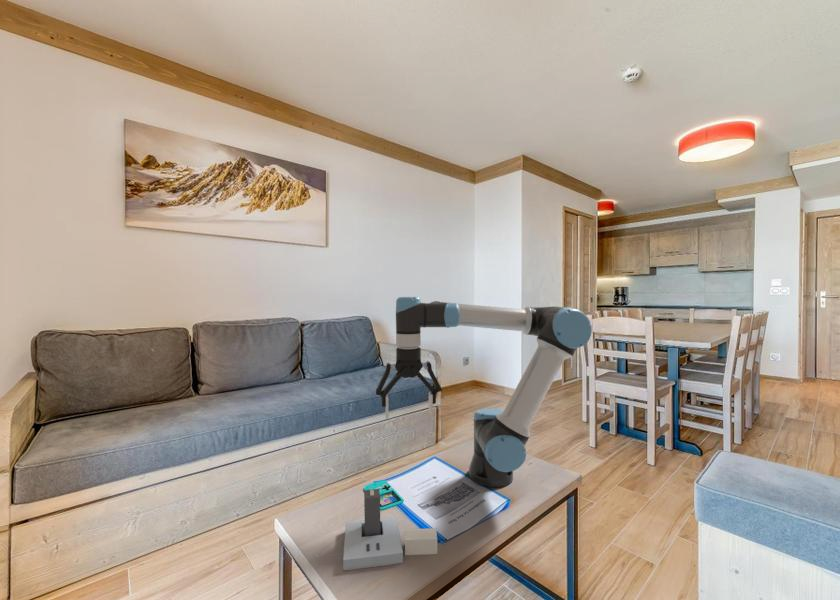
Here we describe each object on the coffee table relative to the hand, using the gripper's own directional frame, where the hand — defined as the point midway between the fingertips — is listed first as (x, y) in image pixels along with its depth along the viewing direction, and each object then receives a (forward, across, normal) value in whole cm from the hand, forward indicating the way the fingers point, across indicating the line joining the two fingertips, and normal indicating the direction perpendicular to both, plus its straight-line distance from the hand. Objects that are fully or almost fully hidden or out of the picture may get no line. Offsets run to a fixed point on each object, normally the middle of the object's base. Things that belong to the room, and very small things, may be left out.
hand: (409, 415), depth 111 cm
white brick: (+27, 0, +21) cm, 34 cm away
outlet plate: (+27, +12, +18) cm, 34 cm away
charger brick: (+27, +12, +15) cm, 33 cm away
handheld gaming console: (+27, +8, -5) cm, 29 cm away
